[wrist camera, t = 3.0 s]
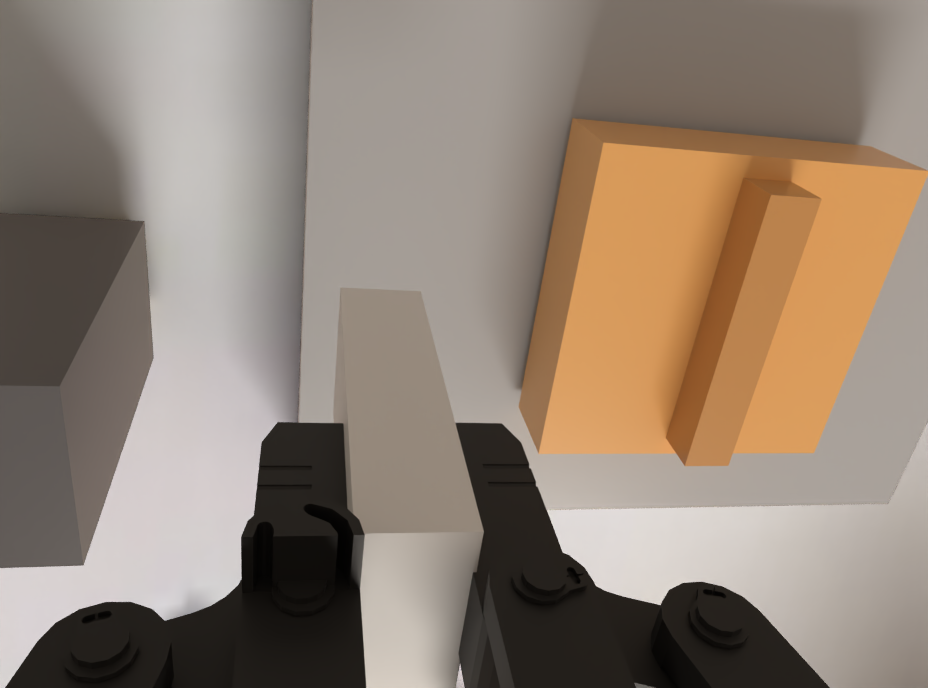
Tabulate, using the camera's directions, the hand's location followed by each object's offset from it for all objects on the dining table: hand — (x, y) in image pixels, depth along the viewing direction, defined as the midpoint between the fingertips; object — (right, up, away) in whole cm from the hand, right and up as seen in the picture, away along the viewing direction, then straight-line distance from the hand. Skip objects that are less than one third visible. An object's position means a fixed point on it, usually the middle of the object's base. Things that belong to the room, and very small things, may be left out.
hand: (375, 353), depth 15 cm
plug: (-9, +2, +6) cm, 11 cm away
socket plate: (+7, +3, +9) cm, 12 cm away
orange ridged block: (+8, +2, +6) cm, 10 cm away
